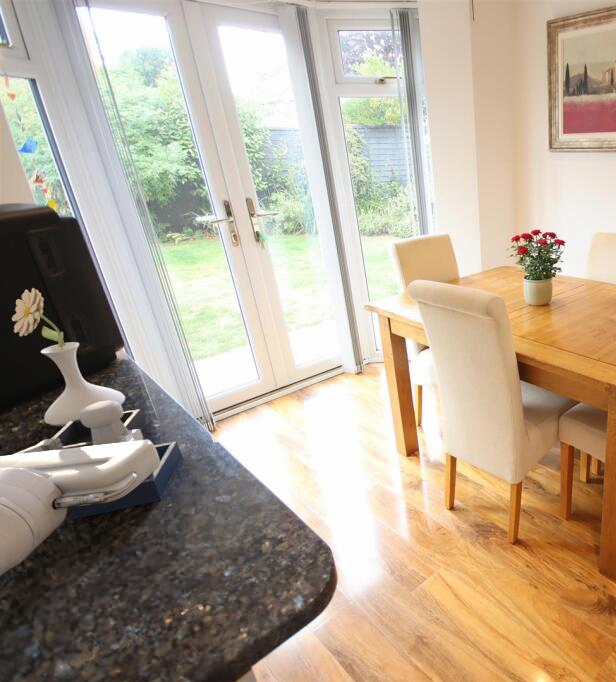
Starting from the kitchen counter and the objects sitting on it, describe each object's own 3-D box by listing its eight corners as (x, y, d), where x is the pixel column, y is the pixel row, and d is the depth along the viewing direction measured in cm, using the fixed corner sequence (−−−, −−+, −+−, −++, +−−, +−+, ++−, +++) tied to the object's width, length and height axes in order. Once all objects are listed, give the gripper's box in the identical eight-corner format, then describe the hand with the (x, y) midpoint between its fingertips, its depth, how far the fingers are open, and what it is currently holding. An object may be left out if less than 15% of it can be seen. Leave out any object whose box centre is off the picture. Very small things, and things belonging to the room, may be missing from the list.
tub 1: (44, 471, 70) (35, 453, 69) (77, 437, 79) (70, 420, 77) (122, 456, 73) (115, 438, 72) (146, 425, 82) (140, 408, 80)
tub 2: (71, 519, 60) (61, 499, 59) (106, 474, 69) (98, 455, 67) (161, 500, 63) (153, 480, 62) (183, 458, 72) (177, 441, 70)
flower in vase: (49, 415, 86) (-13, 286, 77) (125, 394, 93) (78, 273, 84) (46, 444, 77) (-24, 301, 68) (131, 418, 84) (79, 285, 75)
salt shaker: (98, 504, 62) (60, 420, 57) (113, 479, 67) (79, 400, 62) (150, 491, 64) (117, 410, 59) (161, 468, 69) (131, 391, 64)
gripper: (106, 474, 47) (175, 408, 60) (-128, 503, 44) (-4, 427, 57) (127, 522, 49) (189, 448, 62) (-94, 552, 47) (19, 469, 59)
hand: (96, 438), depth 60 cm, fingers open, 8 cm apart
